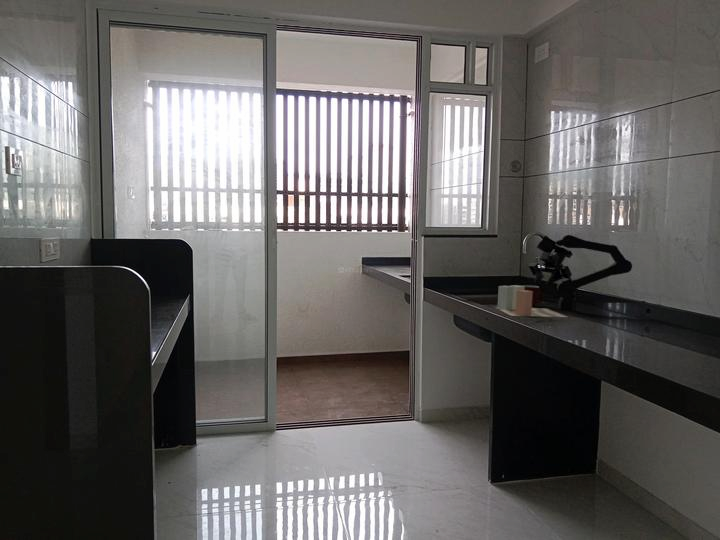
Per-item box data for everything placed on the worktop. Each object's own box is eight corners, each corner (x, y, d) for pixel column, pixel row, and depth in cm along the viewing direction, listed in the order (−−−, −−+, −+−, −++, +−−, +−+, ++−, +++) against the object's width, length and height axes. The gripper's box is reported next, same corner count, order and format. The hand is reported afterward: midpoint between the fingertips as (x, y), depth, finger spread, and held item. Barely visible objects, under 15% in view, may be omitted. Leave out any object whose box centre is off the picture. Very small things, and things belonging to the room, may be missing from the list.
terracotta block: (521, 313, 235) (523, 290, 234) (531, 315, 232) (532, 291, 231) (515, 314, 233) (516, 290, 232) (524, 316, 229) (526, 291, 228)
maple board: (546, 310, 254) (546, 308, 254) (568, 319, 231) (568, 317, 231) (494, 309, 252) (494, 306, 252) (510, 317, 229) (511, 315, 229)
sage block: (503, 307, 250) (505, 285, 249) (512, 309, 247) (513, 286, 246) (497, 308, 247) (498, 286, 246) (505, 310, 244) (507, 287, 243)
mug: (540, 306, 265) (541, 285, 264) (545, 309, 257) (547, 287, 256) (518, 306, 265) (519, 285, 264) (522, 308, 257) (524, 287, 256)
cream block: (514, 307, 253) (516, 285, 253) (523, 308, 250) (524, 286, 249) (508, 307, 251) (509, 285, 250) (517, 309, 247) (518, 286, 246)
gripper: (532, 245, 254) (515, 269, 248) (569, 247, 240) (553, 273, 234) (541, 262, 260) (525, 286, 254) (578, 265, 245) (562, 291, 239)
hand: (541, 284), depth 245 cm, fingers open, 5 cm apart
